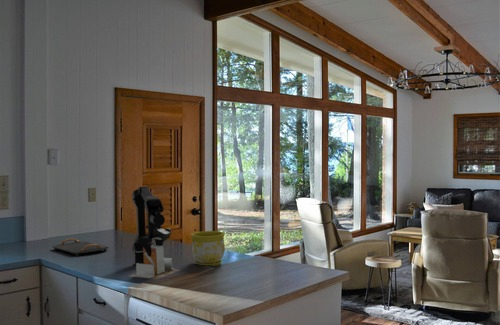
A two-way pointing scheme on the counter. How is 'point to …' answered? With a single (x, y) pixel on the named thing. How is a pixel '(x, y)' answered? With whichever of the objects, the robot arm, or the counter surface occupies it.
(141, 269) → the bookends
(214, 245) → the flowerpot
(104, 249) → the serving board
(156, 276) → the shelf board
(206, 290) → the counter surface
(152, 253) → the small box
